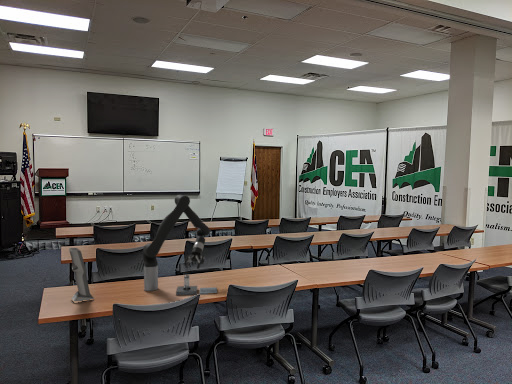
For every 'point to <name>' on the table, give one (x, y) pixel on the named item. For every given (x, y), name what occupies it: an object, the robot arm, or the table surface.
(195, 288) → the chuck plate
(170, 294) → the table surface
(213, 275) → the table surface
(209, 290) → the rubber mat
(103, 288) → the table surface
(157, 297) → the table surface
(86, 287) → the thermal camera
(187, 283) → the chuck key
